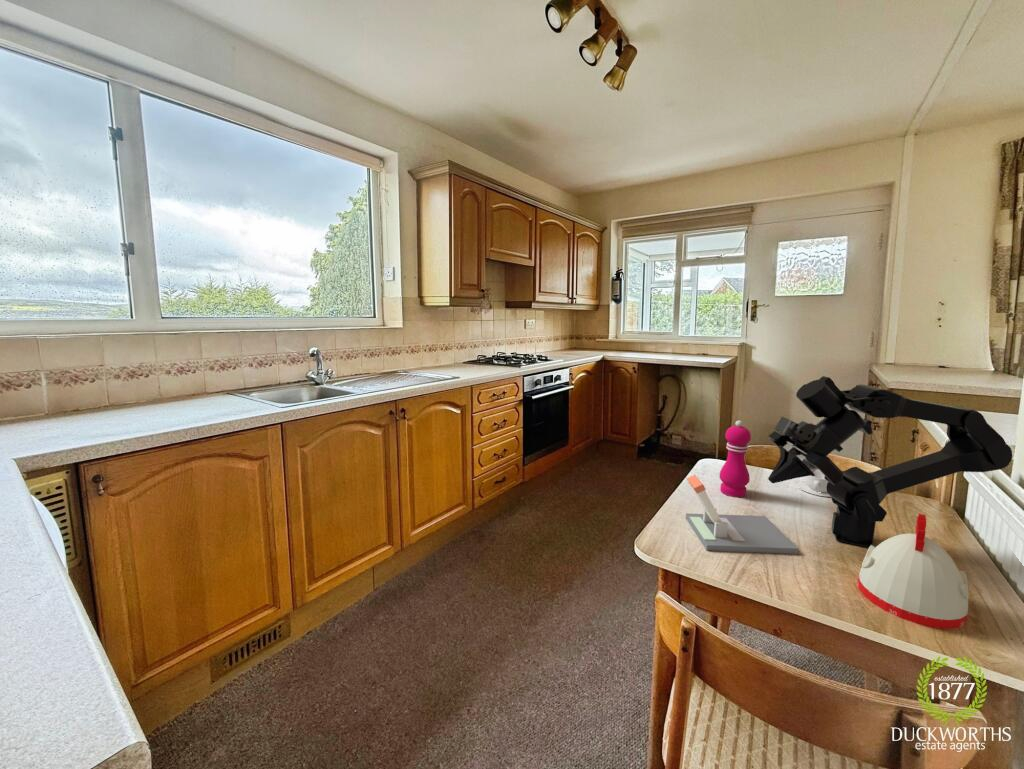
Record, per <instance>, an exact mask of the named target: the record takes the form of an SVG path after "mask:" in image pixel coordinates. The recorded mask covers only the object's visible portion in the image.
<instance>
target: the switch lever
mask: <svg viewBox="0 0 1024 769" xmlns="http://www.w3.org/2000/svg"><path fill="white" fill-rule="evenodd" d="M686 481H687V483H688V484H689V485H690V487H691V488H692V489H693V491H694V492H695V494H696V496H697V498H698V500H699V502H700V504H701V505H702V508H703V510H704V509H705V511H706V513H707V515H708V516H709V517H710V519H711V520H712V521H713V523H714V524H715V522H722V521H721V519H720V517H719V516H718V515H719V514H718V512H717V509H716V508H715V507H714V505H713V503H712V501H711V499H710V498H709V496H708V494H707V491H706V487H705V485H704V483H703V482H702V481H701V480H700V479H699V478H698V476H697V475H696V474H693V475H691V476H690V477H686ZM715 509H716V510H715Z"/></svg>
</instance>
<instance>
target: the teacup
mask: <svg viewBox="0 0 1024 769" xmlns="http://www.w3.org/2000/svg"><path fill="white" fill-rule="evenodd" d="M813 473H814V474H815V476H805V477H804V480H805V481H801V482H798V483H797V487H798V488H799V489H800V490H801V491H803V492H807V493H809V494H812V495H815V496H821V497H826V498H829V497H830V498H831V496H830V495H829V494H828V492H827V488H826V487H827V483H828V481H827V480H826V479H825V478H824V477H825V475H824V474H823V473H822V472H821V471H820V470H819V469H817V470H815V471H814V472H813ZM806 486H808V487H809V488H810V489H811V490H813V491H816V492H813V491H811V490H808V488H806ZM818 492H821V493H818Z"/></svg>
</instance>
